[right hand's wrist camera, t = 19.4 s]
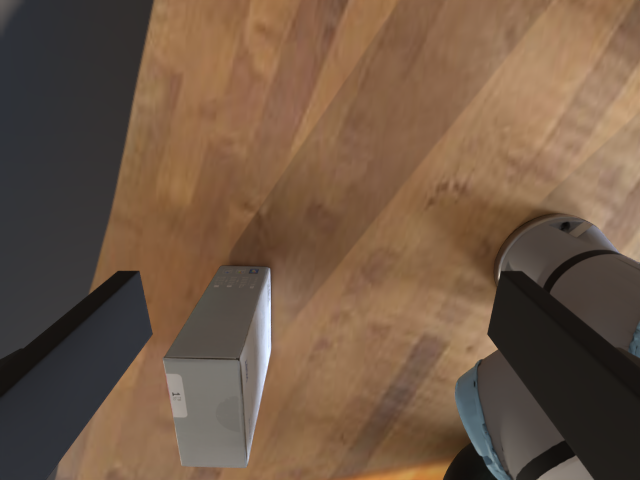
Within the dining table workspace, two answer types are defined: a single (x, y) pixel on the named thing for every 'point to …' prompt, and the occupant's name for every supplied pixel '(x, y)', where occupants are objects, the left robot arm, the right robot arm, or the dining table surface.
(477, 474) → the sphere
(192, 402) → the hard drive box
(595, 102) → the dining table surface
